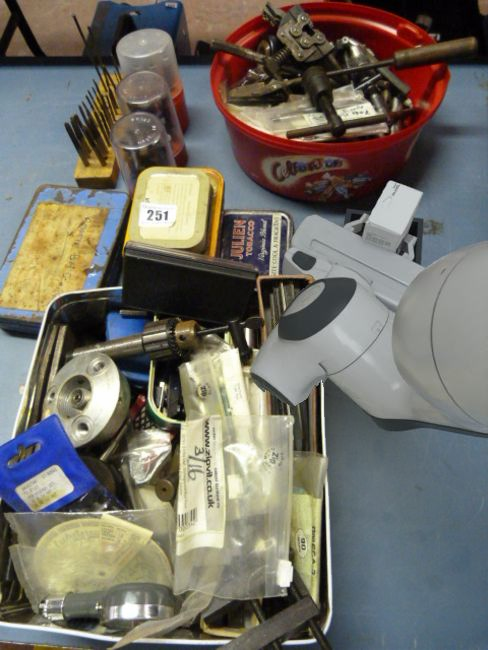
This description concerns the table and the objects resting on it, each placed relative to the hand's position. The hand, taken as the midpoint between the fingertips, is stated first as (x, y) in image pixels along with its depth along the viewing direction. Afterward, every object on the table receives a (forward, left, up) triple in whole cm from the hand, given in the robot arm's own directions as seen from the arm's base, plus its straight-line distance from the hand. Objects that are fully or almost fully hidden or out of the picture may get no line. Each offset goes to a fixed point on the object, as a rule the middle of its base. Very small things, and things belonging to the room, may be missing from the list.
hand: (389, 228), depth 70 cm
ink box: (0, +1, -7) cm, 7 cm away
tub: (0, +1, -10) cm, 10 cm away
